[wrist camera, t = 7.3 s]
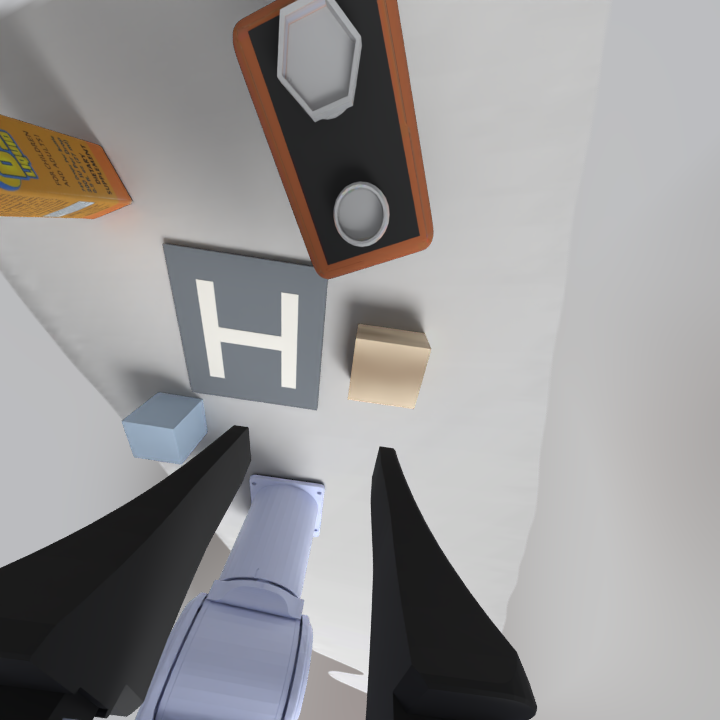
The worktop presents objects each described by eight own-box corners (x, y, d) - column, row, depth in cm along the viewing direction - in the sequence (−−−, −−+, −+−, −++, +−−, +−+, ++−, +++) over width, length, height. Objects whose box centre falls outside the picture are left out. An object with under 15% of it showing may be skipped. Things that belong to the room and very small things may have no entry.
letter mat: (317, 407, 24) (316, 410, 23) (194, 389, 23) (191, 392, 23) (328, 268, 18) (327, 269, 18) (166, 243, 18) (162, 243, 17)
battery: (381, 96, 14) (390, -122, 5) (409, 233, 17) (445, 250, 8) (305, 129, 15) (195, -9, 6) (344, 255, 18) (311, 290, 9)
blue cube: (208, 431, 26) (181, 464, 22) (167, 424, 26) (134, 457, 22) (203, 398, 24) (173, 429, 21) (159, 391, 24) (121, 421, 20)
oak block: (409, 386, 22) (414, 408, 20) (351, 378, 22) (347, 399, 20) (424, 332, 20) (431, 349, 17) (358, 322, 20) (355, 338, 17)
